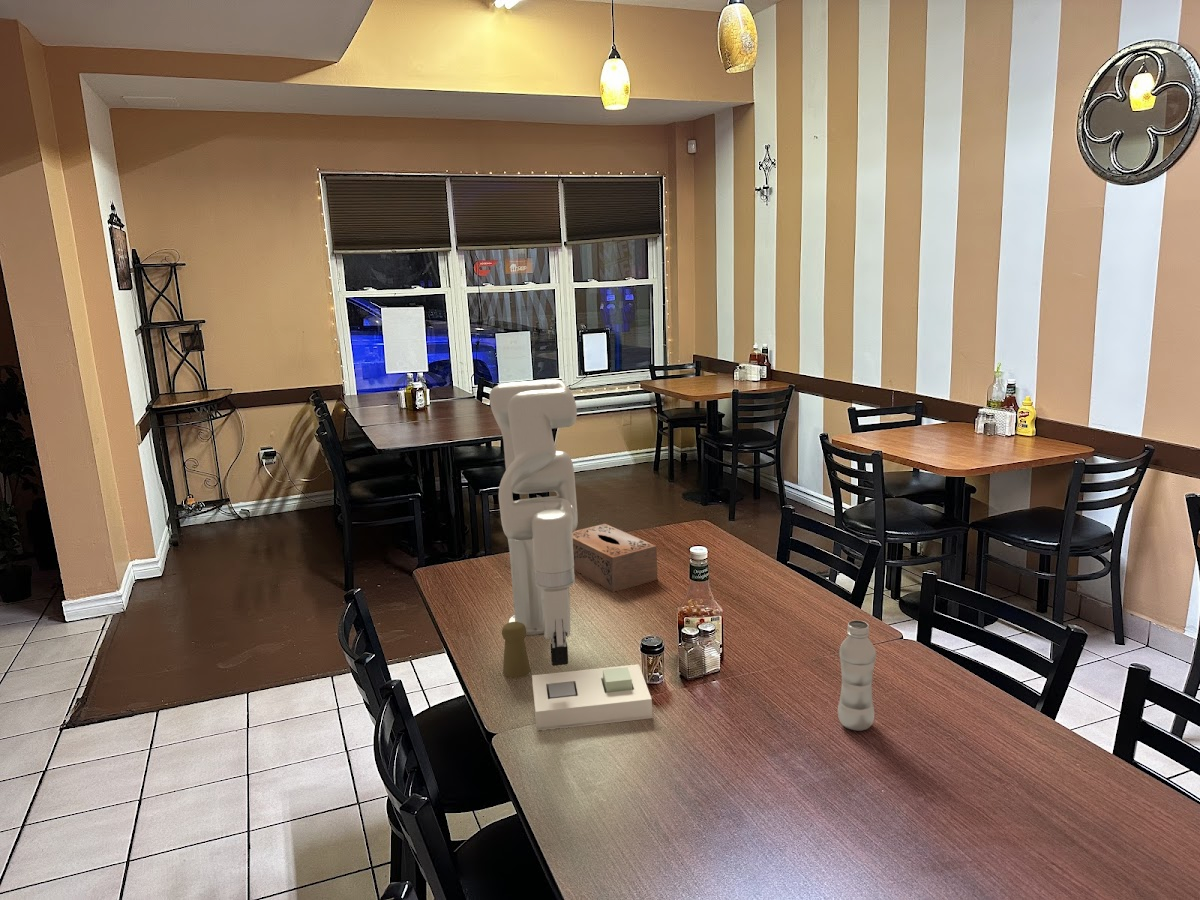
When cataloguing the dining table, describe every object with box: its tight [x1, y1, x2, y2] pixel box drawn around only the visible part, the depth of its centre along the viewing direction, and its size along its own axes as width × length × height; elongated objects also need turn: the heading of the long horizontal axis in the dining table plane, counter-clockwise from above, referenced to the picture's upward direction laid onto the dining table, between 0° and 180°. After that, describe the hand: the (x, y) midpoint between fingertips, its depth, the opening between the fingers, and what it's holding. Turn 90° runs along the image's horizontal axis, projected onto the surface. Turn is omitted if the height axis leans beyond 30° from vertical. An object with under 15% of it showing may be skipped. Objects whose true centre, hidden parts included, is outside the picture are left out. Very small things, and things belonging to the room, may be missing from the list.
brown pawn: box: [501, 622, 532, 679], centre depth 171 cm, size 6×6×11 cm
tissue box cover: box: [572, 523, 658, 593], centre depth 226 cm, size 26×14×10 cm, turn 33°
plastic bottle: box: [837, 619, 877, 732], centre depth 145 cm, size 6×7×20 cm
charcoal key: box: [548, 682, 576, 699], centre depth 157 cm, size 5×5×3 cm
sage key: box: [603, 667, 632, 693], centre depth 157 cm, size 5×5×3 cm
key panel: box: [531, 663, 653, 732], centre depth 157 cm, size 14×22×4 cm, turn 97°
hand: (559, 663), depth 155 cm, fingers closed
